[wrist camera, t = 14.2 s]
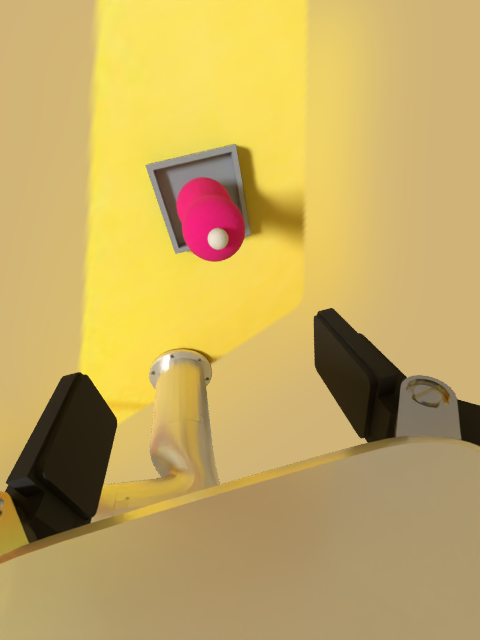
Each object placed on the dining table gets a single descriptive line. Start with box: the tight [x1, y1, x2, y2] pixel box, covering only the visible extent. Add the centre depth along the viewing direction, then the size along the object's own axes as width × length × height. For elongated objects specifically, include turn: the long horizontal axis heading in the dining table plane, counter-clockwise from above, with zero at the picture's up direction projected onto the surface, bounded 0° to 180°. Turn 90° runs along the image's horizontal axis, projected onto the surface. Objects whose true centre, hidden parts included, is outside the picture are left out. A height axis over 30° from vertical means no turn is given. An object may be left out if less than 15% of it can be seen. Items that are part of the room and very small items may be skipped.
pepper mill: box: [177, 177, 245, 262], centre depth 30 cm, size 7×7×20 cm
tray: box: [146, 144, 251, 254], centre depth 38 cm, size 12×12×2 cm
